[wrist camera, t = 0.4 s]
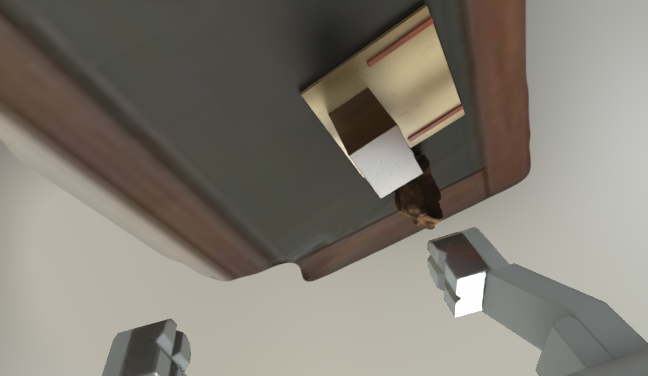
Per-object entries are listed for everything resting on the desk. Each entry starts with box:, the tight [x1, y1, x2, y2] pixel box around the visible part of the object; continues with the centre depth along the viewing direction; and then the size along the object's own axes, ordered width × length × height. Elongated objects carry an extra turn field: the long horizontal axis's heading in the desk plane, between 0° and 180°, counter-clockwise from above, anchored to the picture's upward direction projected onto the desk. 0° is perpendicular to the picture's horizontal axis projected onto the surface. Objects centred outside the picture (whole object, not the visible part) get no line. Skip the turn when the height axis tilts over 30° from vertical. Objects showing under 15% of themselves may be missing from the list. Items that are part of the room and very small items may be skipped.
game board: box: [301, 5, 465, 178], centre depth 53 cm, size 20×20×1 cm
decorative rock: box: [395, 155, 443, 229], centre depth 61 cm, size 12×6×11 cm, turn 179°
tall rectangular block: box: [328, 87, 423, 198], centre depth 50 cm, size 10×7×11 cm
